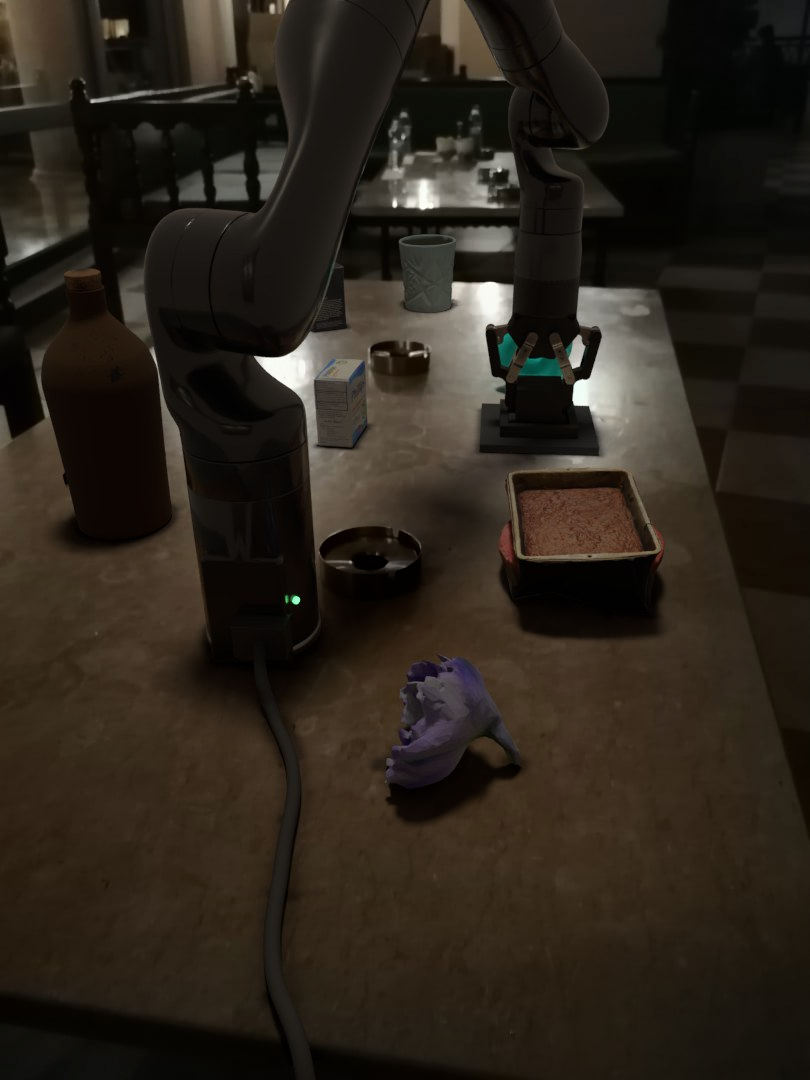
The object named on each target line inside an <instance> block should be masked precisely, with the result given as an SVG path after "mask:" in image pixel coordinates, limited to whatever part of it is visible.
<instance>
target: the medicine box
mask: <svg viewBox="0 0 810 1080" xmlns="http://www.w3.org/2000/svg"><path fill="white" fill-rule="evenodd" d="M313 393H314V407H315V419H316V420H315V421H316V432H317V444H318V446H322V447H323V446H325V447H333V448H334V447H337V448H354V445H355V443H357V441H358V439H359V437H360V436H361V434H362V433H363V431H364V430H365V428H366V427H367V425H368V405H367V404H368V403H367V401H368V400H367V379H366V361H365V360H363V359H353V358H332V359H331V360H330V361H329V363H327V365H326V366H325V367H324V368H323V369H322V370H321V371H320V372H319V373H318V374H317V376H315V378H314V379H313Z"/></svg>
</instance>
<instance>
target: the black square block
mask: <svg viewBox="0 0 810 1080" xmlns="http://www.w3.org/2000/svg"><path fill="white" fill-rule="evenodd" d="M561 379H562V378H561V376H537V375H518V377H517V394H516V411H515V420H516V421H539V422H561V418H562V406H563V393H564V390H563V386H562V381H561Z"/></svg>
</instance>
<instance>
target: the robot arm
mask: <svg viewBox="0 0 810 1080" xmlns="http://www.w3.org/2000/svg"><path fill="white" fill-rule="evenodd" d="M463 1H464V3H465V5H466V6H467V8H468V11H470V13H471V15H472V17H473V19H474V21H475V22H476V24H477V26H478V28H479V30H480V33H481V36H482V37H483V39H484V41H485V43H486V45H487V47H488V49H489V52H490V53H491V56H492V59H493V60H494V62H495V64H496V67H497V68H498V71H499V72H500V74H501V75H502V77H503V78H504V80H505V81H506V82H507V83H508V84H510V85H511V86H513V87H515V88H514V90H513V91H512V94H511V97H510V100H509V104H508V109H507V128H508V134H509V138H510V144H511V149H512V154H513V158H514V164H515V169H516V176H517V181H518V185H519V193H520V194H519V196H520V197H519V213H518V214H519V216H518V217H519V218H518V232H517V237H516V244H515V249H514V260H513V269H514V270H513V287H512V288H513V289H512V306H511V307H512V309H511V316H510V318H509V320H508V322H507V323H505V324H499V325H495V324H494V323H489V324H487V325H486V326H485V334H484V335H485V340H486V347H487V355H488V362H489V366H490V373H491V376H492V377H493V378H496V379H497V378H499V379H502V381H504V382H505V386H504V399H505V405H506V407H510V411H512V412H515V411H516V394H517V377H518V375H519V373H520V371H521V369H522V368H523V366H524V364H525V362H526V360H527V358H528V357H529V359H537V358H541V357H542V358H546V359H555V358H557V361H558V363H559V366H560V369H561V371H562V374H563V376H562V378H561V381H562V386H563V390H564V393H563V406H562V413H566V408H568V409H570V408H571V406H572V401H573V400H574V389H575V388H574V387H575V384H576V383H577V382H578V381H582V380H584V381H587V380H589V379H590V378H591V376H592V373H593V369H594V366H595V363H596V359H597V355H598V352H599V349H600V345H601V342H602V338H603V333H602V331H601V328H600V327H599V326H598V325H592V326H591V327H590V326H585V325H581V324H580V322H579V320H578V303H579V294H580V293H579V292H580V283H581V271H582V270H581V268H582V256H583V245H582V244H583V242H582V231H583V230H582V229H583V218H584V205H585V193H586V191H585V190H586V189H585V183H584V180H583V179H582V178H581V176H579V175H578V174H576V173H573V172H571V171H568V170H565V169H563V168H561V167H560V166H559V165H558V164H557V162H556V160H555V157H554V154H553V151H552V149H560V150H575V151H577V150H578V151H579V150H584V149H588V148H590V147H593V145H595V144H596V143H598V142H599V141H600V139H601V138H602V136H603V135H604V133H605V131H606V129H607V126H608V123H609V119H610V100H609V96H608V93H607V89H606V86H605V84H604V82H603V80H602V78H601V77H600V75H599V74H598V72H597V71H596V69H595V68H594V66H593V65H592V64H591V62H589V60H588V59H587V57H585V55H584V54H583V53H582V51H581V49H580V48H579V47H578V46H577V45H576V44H575V43H574V42H573V41H572V40H571V38H570V37H569V36H568V35H567V34H566V32H565V30H564V26H563V24H562V21H561V19H560V16H559V13H558V11H557V8H556V6H555V3H554V0H463ZM430 2H431V0H288V2H287V4H286V5H285V6H286V7H285V9H284V11H283V13H282V16H281V18H280V20H279V23H278V25H277V30H276V33H275V38H274V42H273V65H274V75H275V80H276V86H277V90H278V95H279V100H280V104H281V109H282V112H283V116H284V120H285V126H286V130H287V131H286V132H287V147H286V152H285V155H284V159H283V161H282V165H281V168H280V171H279V173H278V176H277V178H276V181H275V183H274V186H273V187H272V190H271V192H270V194H269V196H268V198H267V200H266V202H265V203H264V204H263V206H262V207H261V208H260V209H259V210H258V211H257V212H253V211H241V210H233V209H231V210H230V209H220V208H219V209H217V208H206V207H185V208H179V209H176V210H174V211H172V212H169V213H168V214H166V215H165V216H164V217H163V218H161V220H160V221H159V222H158V223H157V224H156V226H155V227H154V229H153V231H152V232H151V235H150V237H149V240H148V242H147V246H146V250H145V254H144V262H143V293H144V294H143V295H144V302H145V303H144V304H145V310H146V315H147V321H148V322H147V323H148V327H149V331H150V337H151V342H152V347H153V351H154V356H155V362H156V366H157V370H158V377H159V382H160V386H161V392H162V397H163V399H164V403H165V406H166V409H167V411H168V413H169V415H170V417H171V418H172V419H173V421H174V423H175V424H176V426H177V428H178V431H179V439H180V444H181V450H182V451H181V452H182V458H183V465H184V471H185V473H184V474H185V478H186V487H187V496H188V504H189V510H190V518H191V524H192V532H193V538H194V546H195V553H196V554H195V555H196V560H197V567H198V576H199V583H200V591H201V598H202V605H203V611H204V618H205V633H206V640H207V643H208V646H209V648H210V649H211V652H212V659H213V661H214V662H217V663H237V664H253V673H254V681H255V685H256V690H257V692H258V695H259V699H260V701H261V704H262V707H263V709H264V712H265V716H266V718H267V721H268V723H269V726H270V729H271V731H272V733H273V735H274V738H275V741H276V743H277V744H278V747H279V749H280V751H281V755H282V757H283V760H284V765H285V772H286V795H285V803H284V808H283V813H282V816H281V817H282V818H281V823H280V827H279V832H278V835H277V841H276V847H275V854H274V855H275V856H274V862H273V870H272V875H271V882H270V886H269V892H268V896H267V897H268V898H267V903H266V910H265V916H264V923H263V924H264V925H263V937H262V939H263V941H262V942H263V943H262V947H263V949H262V951H263V967H264V976H265V980H266V987H267V989H268V993H269V997H270V999H271V1002H272V1005H273V1007H274V1010H275V1011H276V1012H275V1013H276V1015H277V1017H278V1020H279V1022H280V1024H281V1026H282V1029H283V1032H284V1034H285V1038H286V1040H287V1044H288V1048H289V1052H290V1056H291V1060H292V1066H293V1072H294V1078H295V1080H317V1079H316V1074H315V1067H314V1063H313V1056H312V1053H311V1049H310V1043H309V1039H308V1037H307V1033H306V1030H305V1027H304V1024H303V1022H302V1019H301V1016H300V1014H299V1012H298V1009H297V1006H296V1005H295V1002H294V1000H293V998H292V996H291V994H290V991H289V989H288V988H289V987H288V986H287V983H286V978H285V976H284V971H283V962H282V949H281V946H282V944H281V942H282V941H281V940H282V939H281V938H282V937H281V936H282V923H283V914H284V906H285V901H286V896H287V895H286V894H287V890H288V889H287V888H288V883H289V882H288V881H289V877H290V870H291V869H290V868H291V859H292V851H293V844H294V838H295V833H296V828H297V823H298V818H299V813H300V807H301V799H302V798H301V797H302V778H301V777H302V776H301V768H300V761H299V758H298V753H297V750H296V748H295V745H294V743H293V741H292V739H291V738H292V737H291V736H290V734H289V732H288V730H287V728H286V725H285V723H284V720H283V718H282V715H281V713H280V710H279V708H278V705H277V702H276V699H275V697H274V694H273V691H272V688H271V685H270V681H269V676H268V670H267V665H275V666H277V665H279V666H289V665H291V663H292V660H293V658H294V657H296V656H297V655H299V654H301V653H303V652H305V651H306V650H308V649H309V648H310V647H312V645H314V643H315V642H316V641H317V640H318V638H319V636H320V634H321V631H322V617H321V612H320V607H319V605H320V604H319V588H318V578H317V562H316V561H317V560H316V549H315V548H316V547H315V533H314V531H315V530H314V515H313V500H312V499H313V498H312V485H311V469H310V468H311V467H310V466H311V465H310V452H309V451H310V450H309V437H308V419H307V411H306V407H305V404H304V402H303V400H302V397H301V396H300V395H299V394H297V392H296V391H294V390H293V389H292V388H291V387H289V386H287V385H286V384H284V383H283V382H282V381H280V380H278V379H277V378H276V377H274V376H273V375H272V374H270V373H269V372H268V371H267V370H266V369H265V368H264V367H263V366H262V365H261V363H259V361H258V360H257V358H267V359H268V358H269V359H270V358H271V359H275V358H276V359H277V358H282V357H286V356H288V355H289V354H291V353H294V351H296V350H297V349H298V348H299V347H300V346H301V345H302V344H303V342H304V341H305V340H307V337H308V335H310V333H311V331H312V330H311V329H312V327H313V325H314V323H315V321H316V319H317V316H318V314H319V312H320V309H321V307H322V304H323V301H324V298H325V295H326V292H327V289H328V286H329V282H330V279H331V276H332V272H333V269H334V265H335V262H336V263H337V258H338V254H339V251H340V247H341V243H342V240H343V237H344V234H345V230H346V227H347V222H348V219H349V216H350V213H351V209H352V206H353V202H354V199H355V196H356V192H357V190H358V187H359V184H360V181H361V179H362V175H363V172H364V170H365V167H366V164H367V162H368V159H369V156H370V154H371V151H372V148H373V146H374V143H375V140H376V138H377V136H378V132H379V130H380V128H381V124H382V122H383V120H384V118H385V115H386V113H387V109H388V107H389V105H390V103H391V101H392V98H393V96H394V95H395V92H396V90H397V87H398V86H399V83H400V81H401V78H402V76H403V74H404V71H405V69H406V66H407V63H408V62H409V58H410V56H411V54H412V51H413V49H414V46H415V44H416V41H417V40H418V39H417V38H418V35H419V33H420V30H421V27H422V24H423V20H424V18H425V17H426V12H427V11H428V7H429V5H430ZM508 333H509V335H510V337H511V338H512V339H513V341H514V342H515V344H516V345H517V349H516V351H515V353H514V355H513V358H512V360H511V362H510V364H509V366H508V367H507V366H504V365H501V360H500V353H499V346H498V345H499V344H502V343H503V341H504V336H505V335H506V334H508ZM578 336H579V337H581V344H582V345H583V346H584V350H583V353H582V356H581V360H580V363H579V366H576V367H573V366H572V363H571V361H570V356H569V357H568V354H567V351H566V349H567V348H568V346H569V345H570V344H571V343H572V342H573V343H574V340H575V339H576V338H577V337H578ZM256 357H257V358H256ZM573 402H574V401H573Z"/></svg>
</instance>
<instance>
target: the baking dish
mask: <svg viewBox="0 0 810 1080" xmlns="http://www.w3.org/2000/svg"><path fill="white" fill-rule="evenodd" d="M504 481H505V485H504V488H505V491H506V496H507V501H508V509H509V516H510V519H509V521H507V522H506V524H504V526H503V528H502V529H501V530H500V536H499V540H498V544H497V550H498V553H499V555H500V557H501V562H502V565H503V569H504V571H505V574H506V577H507V581H508V586H509V590H510V594H511V598H512V600H516V599H521V598H527V597H532V596H533V597H534V596H540V595H547V594H555V595H558V596H562V597H565V598H568V599H571V600H575V601H578V602H581V603H584V604H587V605H589V606H590V605H591V606H594V607H597V608H600V609H604V610H606V611H610V612H612V613H618V614H630V615H640V616H641V615H642V616H652V614H653V607H652V602H651V600H652V599H651V598H652V590H653V589H652V588H653V586H654V581H655V576H656V572H657V570H658V568H659V566H660V565H661V563H662V560H663V559H664V555H665V554H664V553H665V541H664V539H663V536H662V535H661V533H660V531H659V530H658V529H657V528H656V527H655V526H654V525H653V523H652V520H651V518H650V516H649V513H648V511H647V508H646V505H645V502H644V499H643V497H642V495H641V493H640V492H641V491H640V490H639V488H638V485H637V482H636V480H635V477H634V475H633V474H632V472H631V471H629V470H627V469H624V468H621V467H618V468H617V467H615V468H613V467H612V468H611V467H607V468H606V467H549V468H537V469H519V470H515V471H512V472H509V473H508V474H507V475H506V477H505V480H504Z"/></svg>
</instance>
